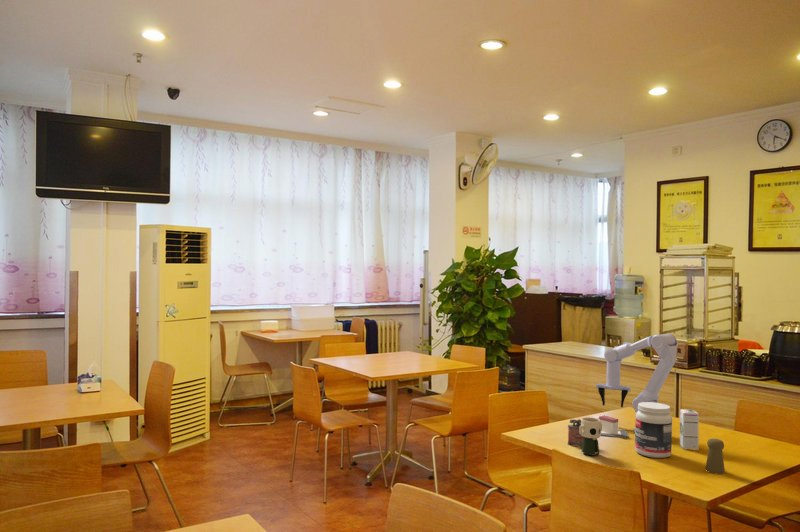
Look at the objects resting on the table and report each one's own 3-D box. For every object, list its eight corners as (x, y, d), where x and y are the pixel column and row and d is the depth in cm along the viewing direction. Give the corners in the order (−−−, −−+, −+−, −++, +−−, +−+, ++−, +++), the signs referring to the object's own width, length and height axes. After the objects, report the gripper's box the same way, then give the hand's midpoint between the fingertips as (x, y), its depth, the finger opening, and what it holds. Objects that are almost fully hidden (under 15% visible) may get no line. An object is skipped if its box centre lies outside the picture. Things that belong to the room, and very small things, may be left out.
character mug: (586, 458, 218) (586, 423, 218) (572, 453, 224) (573, 418, 224) (608, 455, 222) (609, 420, 222) (594, 449, 229) (595, 415, 229)
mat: (625, 431, 256) (625, 430, 256) (628, 438, 246) (628, 437, 246) (588, 428, 260) (588, 427, 260) (590, 434, 249) (590, 433, 249)
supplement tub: (628, 452, 226) (629, 404, 226) (645, 446, 234) (646, 399, 234) (661, 461, 216) (662, 411, 216) (677, 455, 224) (678, 406, 224)
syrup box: (699, 450, 231) (699, 413, 231) (682, 449, 232) (683, 412, 232) (694, 446, 236) (695, 409, 236) (678, 445, 237) (679, 408, 237)
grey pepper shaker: (701, 468, 210) (702, 436, 210) (717, 468, 210) (718, 436, 210) (712, 474, 204) (712, 441, 204) (728, 474, 204) (729, 441, 204)
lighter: (587, 444, 236) (588, 418, 236) (589, 446, 233) (590, 421, 233) (566, 443, 237) (567, 417, 237) (568, 445, 234) (568, 420, 234)
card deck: (603, 429, 257) (604, 415, 257) (617, 433, 251) (618, 419, 251) (598, 430, 255) (599, 416, 255) (612, 434, 249) (613, 420, 249)
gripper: (595, 375, 266) (594, 405, 266) (630, 378, 260) (629, 409, 260) (597, 373, 272) (596, 402, 272) (631, 376, 266) (630, 406, 266)
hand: (612, 406), depth 267 cm, fingers open, 7 cm apart
